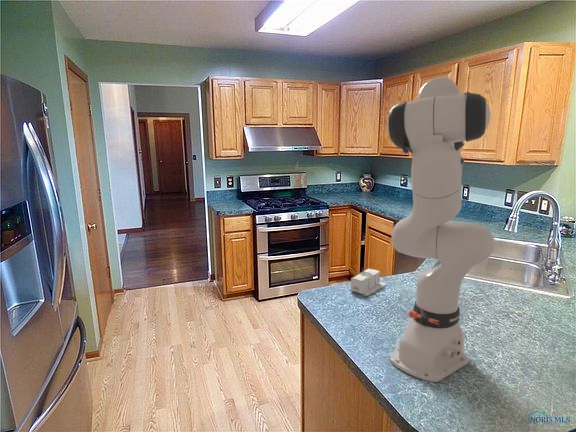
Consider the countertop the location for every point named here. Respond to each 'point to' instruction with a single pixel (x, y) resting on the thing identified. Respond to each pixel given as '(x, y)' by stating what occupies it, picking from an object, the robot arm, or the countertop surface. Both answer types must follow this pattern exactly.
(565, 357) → the countertop surface
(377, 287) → the cream flat rectangular slab
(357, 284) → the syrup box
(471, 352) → the countertop surface
